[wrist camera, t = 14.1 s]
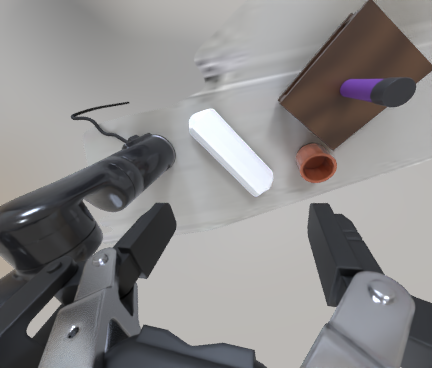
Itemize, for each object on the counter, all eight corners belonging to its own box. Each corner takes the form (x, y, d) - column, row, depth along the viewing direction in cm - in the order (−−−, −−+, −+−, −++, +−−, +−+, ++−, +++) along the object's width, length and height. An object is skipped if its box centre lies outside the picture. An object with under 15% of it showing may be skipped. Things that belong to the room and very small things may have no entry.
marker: (335, 90, 25) (375, 96, 16) (351, 74, 24) (405, 70, 15) (346, 101, 26) (392, 112, 16) (363, 85, 24) (423, 89, 15)
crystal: (175, 135, 39) (248, 205, 44) (185, 117, 33) (268, 200, 38) (194, 117, 43) (260, 184, 47) (207, 98, 36) (280, 177, 41)
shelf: (276, 99, 35) (279, 103, 28) (344, 18, 27) (370, -2, 20) (320, 137, 36) (333, 150, 29) (395, 70, 29) (435, 68, 22)
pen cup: (289, 158, 40) (293, 170, 35) (312, 137, 36) (320, 146, 31) (309, 175, 41) (315, 188, 36) (333, 155, 37) (344, 167, 32)
